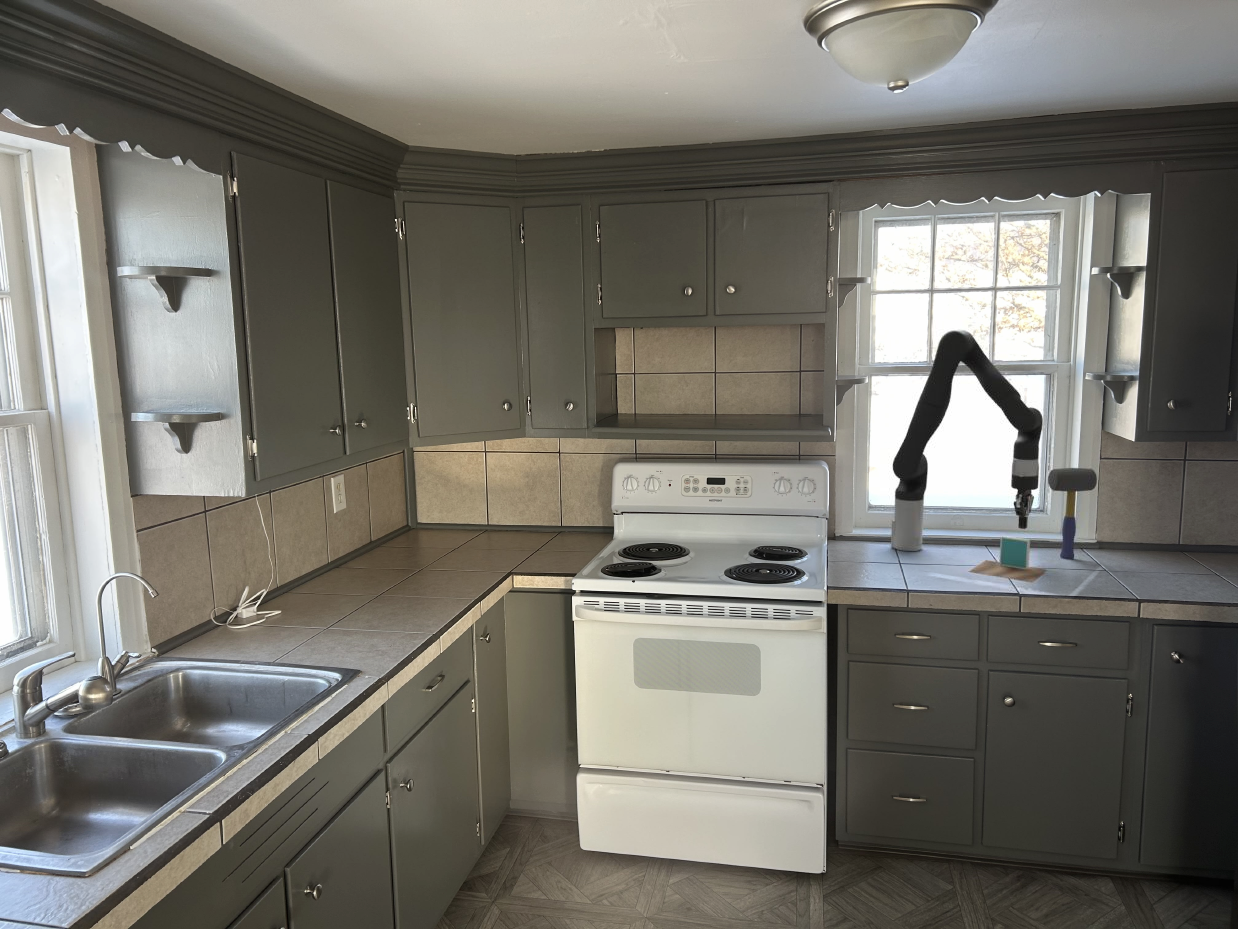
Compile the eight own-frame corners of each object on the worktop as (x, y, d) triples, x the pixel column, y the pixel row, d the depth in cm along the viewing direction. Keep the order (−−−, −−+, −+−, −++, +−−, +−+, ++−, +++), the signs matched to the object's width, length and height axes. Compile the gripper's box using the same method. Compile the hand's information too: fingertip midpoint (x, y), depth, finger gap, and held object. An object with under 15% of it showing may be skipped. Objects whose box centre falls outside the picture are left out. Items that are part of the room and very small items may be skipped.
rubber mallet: (1052, 564, 267) (1058, 470, 262) (1041, 558, 274) (1047, 466, 269) (1092, 564, 266) (1099, 469, 261) (1081, 557, 274) (1087, 465, 269)
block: (999, 565, 263) (1000, 536, 262) (1000, 563, 264) (1002, 535, 263) (1026, 569, 258) (1028, 540, 256) (1028, 568, 259) (1030, 539, 258)
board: (968, 575, 257) (968, 571, 257) (985, 563, 269) (986, 560, 269) (1032, 586, 245) (1032, 582, 245) (1047, 573, 257) (1047, 569, 257)
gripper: (1018, 469, 269) (1016, 522, 272) (1005, 475, 259) (1003, 530, 262) (1044, 471, 264) (1041, 525, 267) (1031, 477, 254) (1029, 534, 257)
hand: (1022, 528), depth 264 cm, fingers closed
